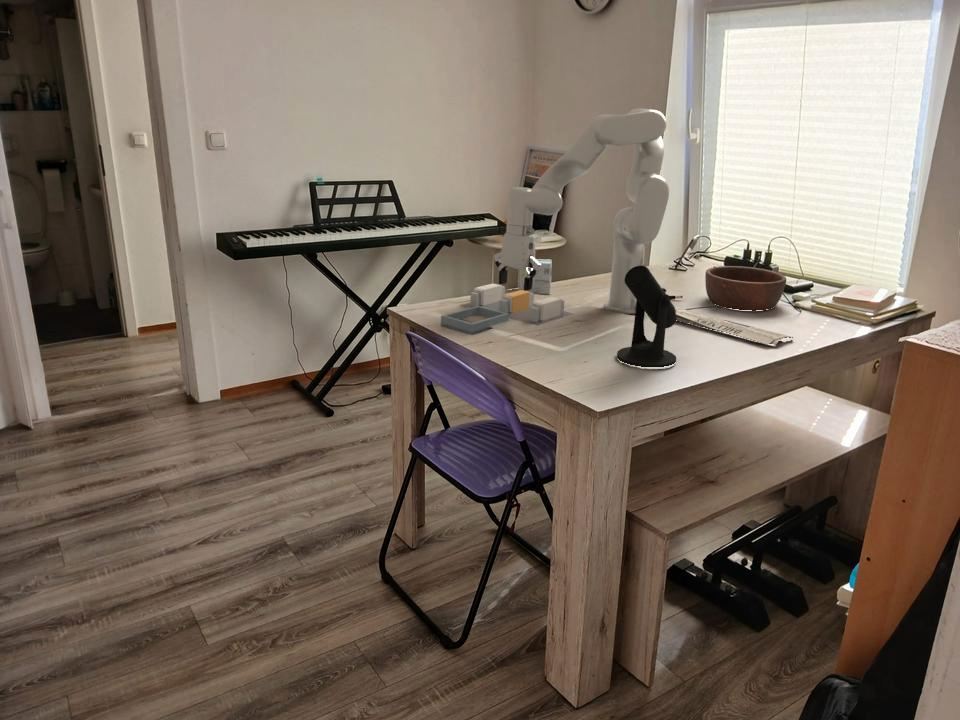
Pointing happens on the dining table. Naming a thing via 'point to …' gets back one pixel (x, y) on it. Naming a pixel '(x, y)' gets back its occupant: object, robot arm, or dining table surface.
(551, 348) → the dining table surface
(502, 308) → the fuse block
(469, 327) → the tray
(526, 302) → the marked fuse
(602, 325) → the dining table surface
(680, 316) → the newspaper
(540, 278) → the light bulb box
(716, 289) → the wooden bowl
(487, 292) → the block
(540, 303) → the block
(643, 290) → the microphone
